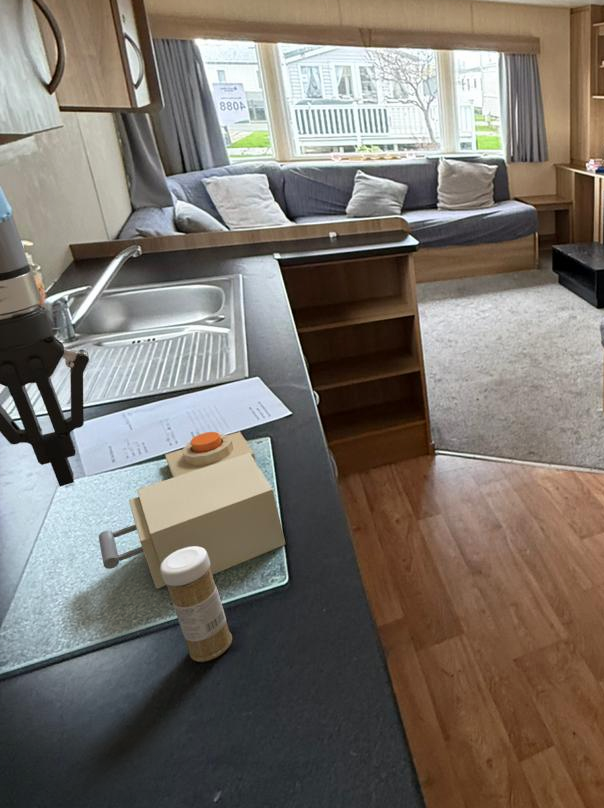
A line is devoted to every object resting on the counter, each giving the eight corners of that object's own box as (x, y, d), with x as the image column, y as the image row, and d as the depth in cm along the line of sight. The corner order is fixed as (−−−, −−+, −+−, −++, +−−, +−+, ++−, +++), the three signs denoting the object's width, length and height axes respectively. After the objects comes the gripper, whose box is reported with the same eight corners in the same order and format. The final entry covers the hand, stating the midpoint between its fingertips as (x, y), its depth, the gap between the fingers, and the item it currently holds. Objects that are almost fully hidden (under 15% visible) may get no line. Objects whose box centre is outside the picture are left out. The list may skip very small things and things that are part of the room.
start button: (195, 456, 110) (193, 447, 109) (190, 446, 113) (188, 437, 112) (224, 447, 112) (222, 438, 112) (218, 437, 116) (216, 429, 115)
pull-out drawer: (116, 605, 82) (98, 556, 80) (107, 558, 91) (90, 512, 88) (266, 544, 93) (255, 499, 90) (246, 507, 101) (235, 464, 98)
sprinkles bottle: (221, 627, 80) (194, 539, 75) (240, 644, 78) (214, 554, 73) (182, 652, 77) (151, 561, 72) (200, 670, 74) (170, 578, 69)
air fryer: (169, 592, 86) (150, 533, 82) (154, 544, 95) (136, 489, 91) (285, 544, 94) (272, 489, 91) (262, 504, 103) (249, 452, 100)
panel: (178, 490, 107) (172, 470, 105) (168, 465, 114) (162, 445, 113) (256, 464, 114) (251, 444, 113) (242, 441, 121) (237, 422, 120)
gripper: (-78, 333, 70) (0, 513, 79) (73, 307, 77) (128, 474, 86) (-70, 315, 75) (2, 485, 84) (70, 292, 83) (123, 451, 92)
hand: (66, 479), depth 85 cm, fingers closed
